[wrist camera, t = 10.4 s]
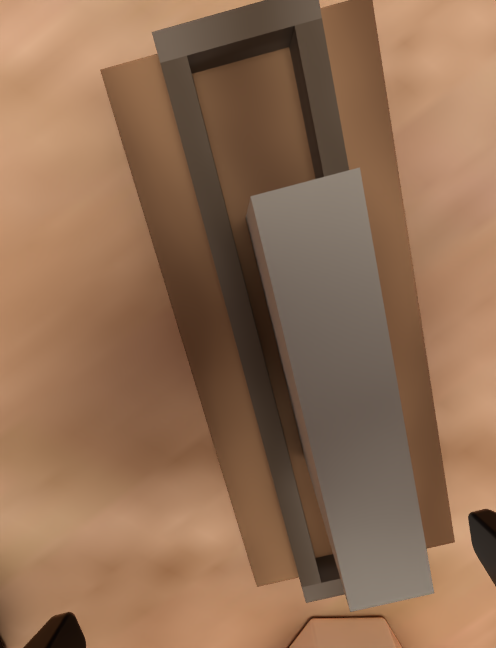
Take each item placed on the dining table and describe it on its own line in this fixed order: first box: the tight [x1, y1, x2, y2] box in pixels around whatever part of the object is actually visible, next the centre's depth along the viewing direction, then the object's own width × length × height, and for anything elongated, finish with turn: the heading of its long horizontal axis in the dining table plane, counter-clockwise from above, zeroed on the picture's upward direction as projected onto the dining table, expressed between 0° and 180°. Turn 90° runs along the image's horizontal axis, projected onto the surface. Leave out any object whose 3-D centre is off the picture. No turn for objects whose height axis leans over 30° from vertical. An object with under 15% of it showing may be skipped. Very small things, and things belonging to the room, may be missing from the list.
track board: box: [100, 0, 455, 603], centre depth 17 cm, size 11×26×3 cm, turn 14°
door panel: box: [246, 168, 434, 612], centre depth 13 cm, size 2×12×8 cm, turn 14°
